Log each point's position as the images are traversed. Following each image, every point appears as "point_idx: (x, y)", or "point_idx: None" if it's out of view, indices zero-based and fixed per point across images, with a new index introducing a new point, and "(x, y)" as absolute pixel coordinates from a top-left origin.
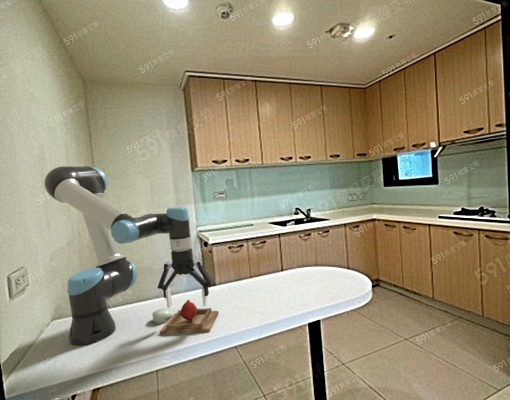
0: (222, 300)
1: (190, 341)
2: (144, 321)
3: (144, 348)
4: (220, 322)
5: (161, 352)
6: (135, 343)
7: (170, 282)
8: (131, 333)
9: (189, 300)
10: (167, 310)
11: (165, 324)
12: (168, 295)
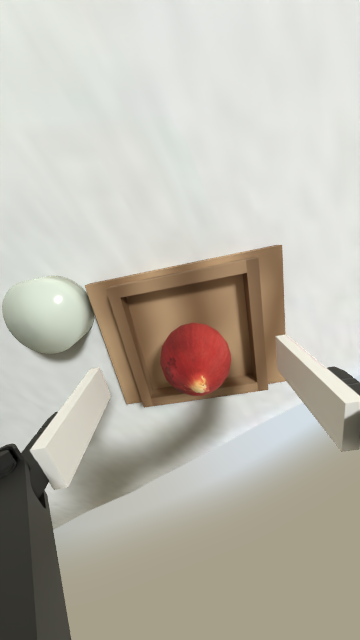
0: (250, 53)
1: (241, 419)
2: (2, 327)
3: (135, 449)
4: (303, 316)
5: (190, 458)
6: (93, 434)
7: (53, 557)
8: (34, 396)
9: (208, 389)
10: (56, 303)
11: (115, 367)
12: (84, 443)
